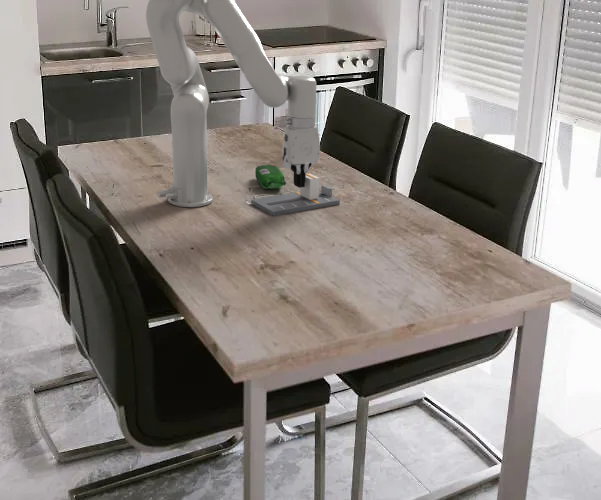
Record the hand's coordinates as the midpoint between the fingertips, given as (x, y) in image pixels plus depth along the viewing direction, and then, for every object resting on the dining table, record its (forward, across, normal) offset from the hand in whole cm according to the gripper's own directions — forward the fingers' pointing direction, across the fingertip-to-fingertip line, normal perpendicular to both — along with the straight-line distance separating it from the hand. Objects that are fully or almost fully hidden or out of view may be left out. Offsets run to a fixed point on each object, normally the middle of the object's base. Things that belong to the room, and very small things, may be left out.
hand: (299, 186), depth 253 cm
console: (+5, -1, 0) cm, 5 cm away
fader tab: (+4, +4, 0) cm, 5 cm away
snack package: (+6, +2, +19) cm, 20 cm away
